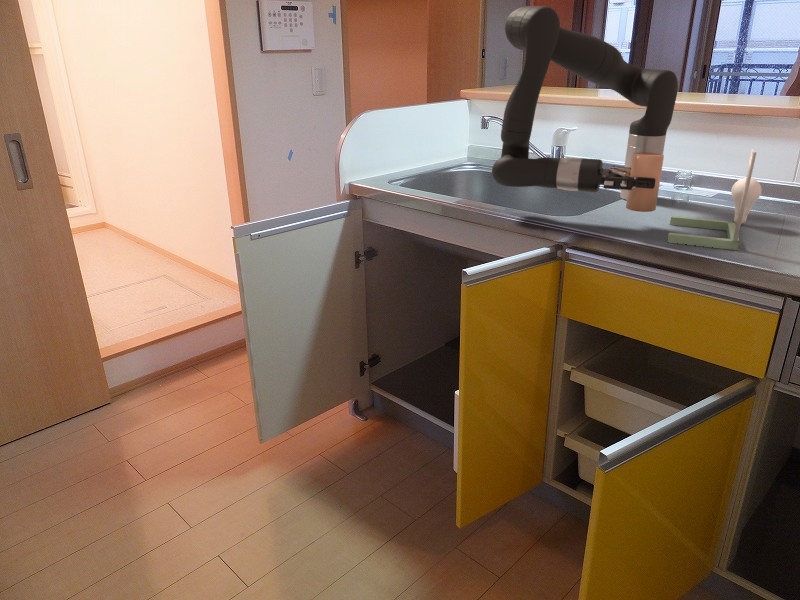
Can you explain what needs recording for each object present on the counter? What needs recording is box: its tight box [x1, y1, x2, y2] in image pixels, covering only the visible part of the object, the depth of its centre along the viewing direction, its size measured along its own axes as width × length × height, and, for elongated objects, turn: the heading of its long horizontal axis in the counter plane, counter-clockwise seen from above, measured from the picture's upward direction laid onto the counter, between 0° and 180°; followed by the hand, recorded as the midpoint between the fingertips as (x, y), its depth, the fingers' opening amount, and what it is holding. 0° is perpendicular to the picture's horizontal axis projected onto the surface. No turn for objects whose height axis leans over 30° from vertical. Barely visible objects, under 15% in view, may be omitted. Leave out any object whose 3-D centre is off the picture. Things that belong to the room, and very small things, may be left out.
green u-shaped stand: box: [667, 148, 757, 251], centre depth 135 cm, size 17×14×20 cm
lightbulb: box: [730, 177, 762, 225], centre depth 146 cm, size 6×6×11 cm
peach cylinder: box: [625, 152, 665, 213], centre depth 140 cm, size 6×6×12 cm
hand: (655, 180), depth 139 cm, fingers closed on peach cylinder, 6 cm apart
